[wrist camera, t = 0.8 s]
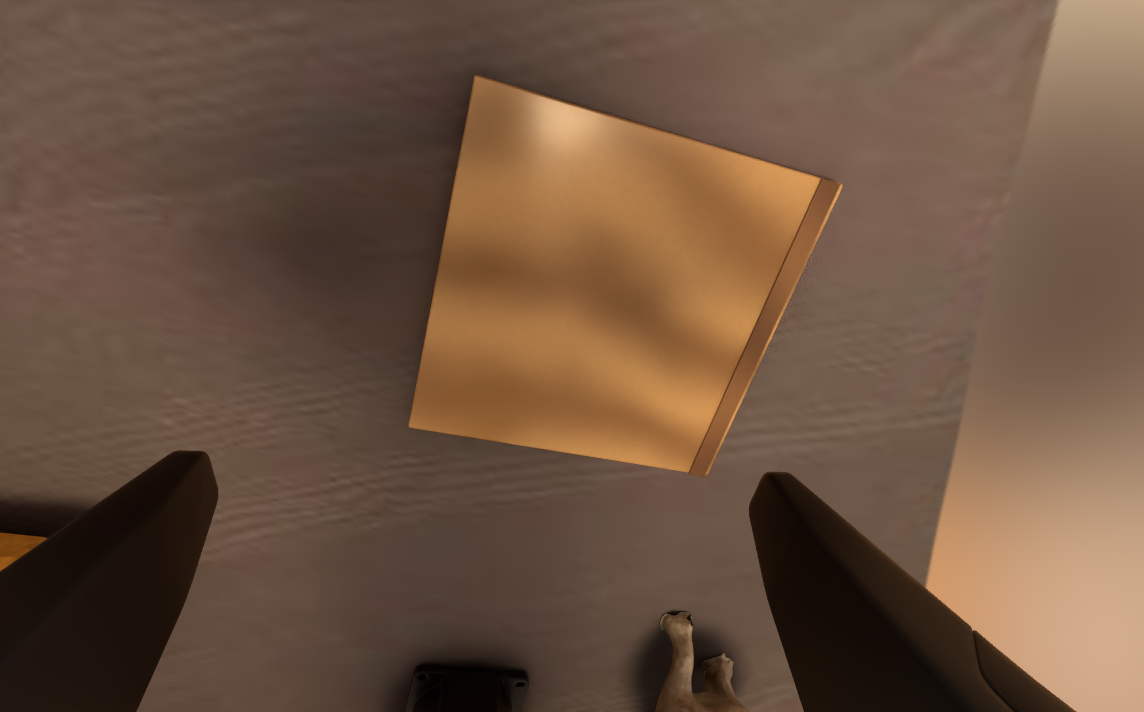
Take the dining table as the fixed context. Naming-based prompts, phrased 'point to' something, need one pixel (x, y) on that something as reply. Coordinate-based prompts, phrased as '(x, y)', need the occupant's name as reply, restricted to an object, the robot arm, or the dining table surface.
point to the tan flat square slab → (606, 282)
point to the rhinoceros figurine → (676, 701)
